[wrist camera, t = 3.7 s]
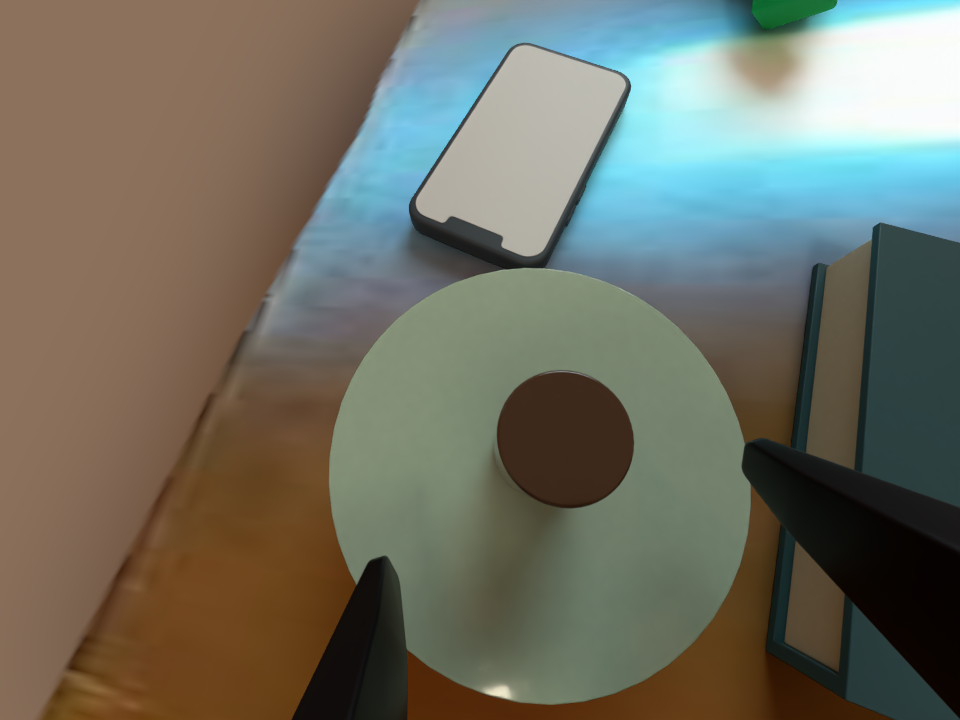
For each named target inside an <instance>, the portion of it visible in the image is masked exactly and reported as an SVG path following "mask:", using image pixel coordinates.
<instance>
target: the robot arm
mask: <svg viewBox="0 0 960 720" xmlns="http://www.w3.org/2000/svg"><path fill="white" fill-rule="evenodd" d="M741 468H742V471H743V474H744V475H745V477H746V478H747V480H748V481H749V482H750V483H751V485H752V486H753V487H754V489H755V490H756V491H757V493H758V494H759V495H760V497H761V498H762V499H763V500H764V502H765V503H766V504H767V506H768V507H769V508H770V510H771V511H772V512H773V513H774V515H775V516H776V517H777V519H778V520H779V521H780V523H781V524H782V525H783V526H784V527H785V529H786V530H787V531H788V532H789V533H790V535H791V536H792V537H793V538H794V539H795V540H796V541H797V543H798V544H799V545H800V546H801V547H802V548H803V549H804V550H805V551H806V552H807V553H808V554H809V556H810V557H811V558H812V559H813V560H814V561H815V562H816V563H817V564H818V565H819V566H820V568H821V569H822V570H823V571H824V572H825V573H826V574H827V575H828V576H829V577H830V578H831V580H832V581H833V582H834V583H835V584H836V585H837V586H838V587H839V588H840V589H841V590H842V591H843V593H844V594H845V595H846V596H847V597H848V598H849V599H850V600H851V601H852V602H853V603H854V605H855V606H856V607H857V608H858V609H859V610H860V611H861V612H862V613H863V614H864V615H865V617H866V618H867V619H868V620H869V621H870V622H871V623H872V624H873V625H874V626H875V627H876V628H877V630H878V631H879V632H880V633H881V634H882V635H883V636H884V637H885V638H886V639H887V640H888V642H889V643H890V644H891V645H892V646H893V647H894V648H895V649H896V650H897V651H898V652H899V654H900V655H901V656H902V657H903V658H904V659H905V660H906V661H907V662H908V663H909V664H910V665H911V667H912V668H913V669H914V670H915V671H916V672H917V673H918V674H919V675H920V676H921V677H922V679H923V680H924V681H925V682H926V683H927V684H928V685H929V686H930V687H931V688H932V689H933V691H934V692H935V693H936V694H937V695H938V696H939V697H940V698H941V699H942V700H943V701H944V702H945V704H946V705H947V706H948V707H949V708H950V709H951V710H952V711H953V712H954V713H955V714H956V716H957V717H958V718H959V719H960V507H958V506H955V505H953V504H950V503H947V502H944V501H941V500H938V499H936V498H933V497H930V496H927V495H924V494H921V493H919V492H916V491H913V490H910V489H907V488H904V487H902V486H899V485H896V484H893V483H890V482H887V481H885V480H882V479H879V478H876V477H873V476H870V475H868V474H865V473H862V472H859V471H856V470H853V469H851V468H848V467H845V466H842V465H839V464H836V463H834V462H831V461H828V460H825V459H822V458H819V457H817V456H814V455H811V454H808V453H805V452H802V451H800V450H797V449H794V448H791V447H788V446H785V445H783V444H780V443H777V442H774V441H771V440H768V439H765V438H759V439H756V440H753V441H749V442H747V443H746V444H745V446H744V451H743V457H742V464H741ZM292 720H407V649H406V638H405V628H404V618H403V608H402V597H401V587H400V581H399V577H398V574H397V573H396V571H395V569H394V567H393V565H392V563H391V561H390V559H389V558H388V556H386V555H383V556H380V557H377V558H373V559H371V560H370V561H369V562H368V563H367V565H366V567H365V569H364V571H363V573H362V575H361V577H360V579H359V581H358V583H357V585H356V587H355V590H354V592H353V594H352V596H351V598H350V600H349V602H348V604H347V606H346V608H345V610H344V612H343V614H342V616H341V619H340V621H339V623H338V625H337V627H336V629H335V631H334V633H333V635H332V637H331V639H330V641H329V643H328V645H327V648H326V650H325V652H324V654H323V656H322V658H321V660H320V662H319V664H318V666H317V668H316V670H315V672H314V674H313V677H312V679H311V681H310V683H309V685H308V687H307V689H306V691H305V693H304V695H303V697H302V699H301V701H300V703H299V706H298V708H297V710H296V712H295V714H294V716H293V718H292Z"/></svg>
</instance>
